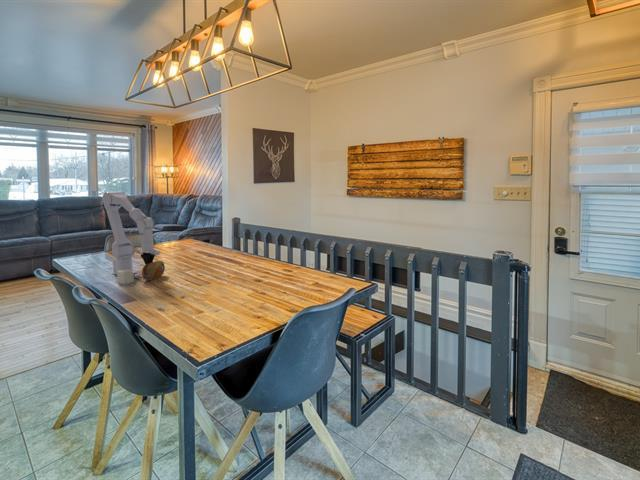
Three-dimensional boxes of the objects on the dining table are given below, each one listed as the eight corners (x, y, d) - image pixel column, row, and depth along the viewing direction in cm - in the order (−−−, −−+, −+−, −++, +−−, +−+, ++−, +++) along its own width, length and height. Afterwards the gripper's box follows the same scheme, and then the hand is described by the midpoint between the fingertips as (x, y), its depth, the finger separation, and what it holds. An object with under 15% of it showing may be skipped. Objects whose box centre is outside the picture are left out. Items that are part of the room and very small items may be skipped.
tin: (146, 282, 177) (146, 266, 176) (140, 281, 178) (140, 265, 176) (164, 274, 192) (165, 259, 190) (159, 273, 192) (160, 258, 191)
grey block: (117, 283, 176) (116, 271, 175) (127, 280, 181) (126, 268, 180) (124, 284, 174) (123, 272, 173) (133, 281, 179) (132, 270, 178)
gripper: (130, 241, 182) (132, 267, 184) (150, 243, 176) (152, 270, 178) (142, 239, 188) (144, 264, 191) (162, 241, 182) (163, 267, 185)
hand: (148, 267), depth 185 cm, fingers closed
